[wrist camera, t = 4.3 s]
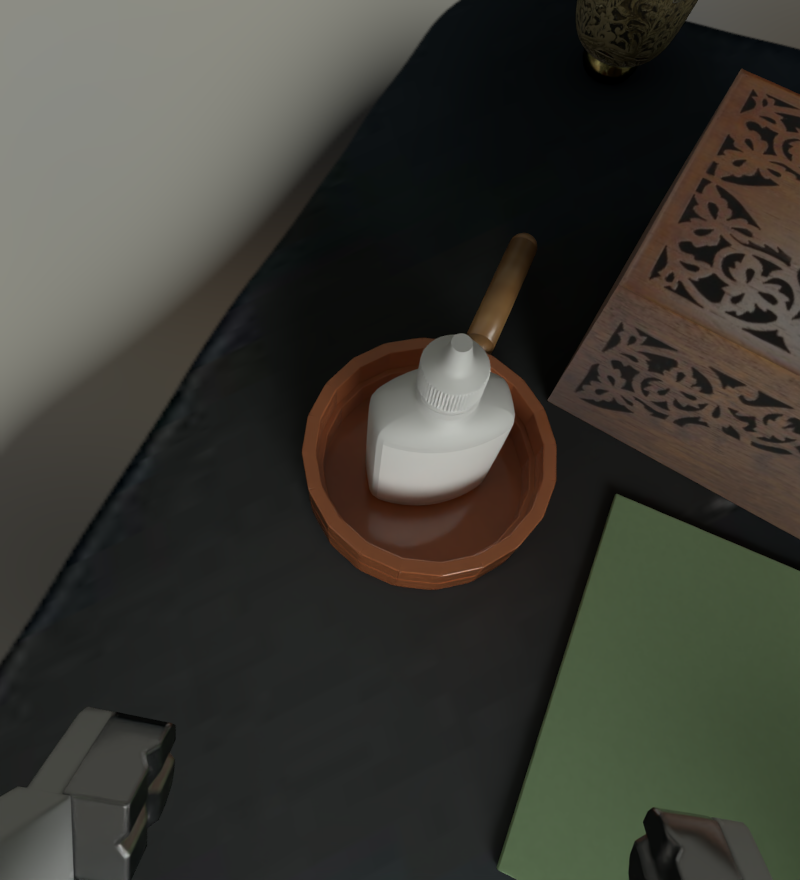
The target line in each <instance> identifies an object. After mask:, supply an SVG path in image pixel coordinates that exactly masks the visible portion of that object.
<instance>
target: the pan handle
mask: <svg viewBox="0 0 800 880" xmlns="http://www.w3.org/2000/svg"><path fill="white" fill-rule="evenodd" d="M536 252H537V242H536V240H535V238H534V237H533V236H532V235H530V234H528V233H519V234H517V235H515V236H514V237H513V238H512V239H511V240H510V242H509V244H508V246H507V249H506V251H505V253H504V255H503V257H502V259H501V261H500V264H499V266H498V268H497V270H496V272H495V274H494V276H493V279H492V281H491V283H490V285H489V287H488V289H487V291H486V294H485V296H484V298H483V300H482V302H481V304H480V306H479V309H478V311H477V313H476V315H475V317H474V319H473V321H472V324H471V326H470V328H469V330H468V332H467V334H466V335H468V336H469V337H470V338H471V339H472V340H473V341H475V342H476V343H478V344H479V345H480V346H481V347H482V348H483V349H484V351H486V352H485V353H487V354H491V353H492V351H493V350H494V347H495V345H496V343H497V341H498V338H499V336H500V334H501V332H502V329H503V327H504V325H505V323H506V320H507V318H508V316H509V313H510V311H511V309H512V307H513V304H514V302H515V300H516V298H517V295H518V293H519V291H520V289H521V286H522V284H523V282H524V279H525V277H526V275H527V273H528V270H529V268H530V266H531V264H532V261H533V259H534V257H535V255H536Z"/></svg>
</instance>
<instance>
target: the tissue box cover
mask: <svg viewBox="0 0 800 880" xmlns="http://www.w3.org/2000/svg"><path fill="white" fill-rule="evenodd" d="M547 401H549V402H551V403H552V404H554V405H556V406H558V407H560V408H561V409H563V410H565V411H567V412H569V413H571V414H572V415H574V416H576V417H578V418H580V419H581V420H583V421H585V422H587V423H589V424H591V425H592V426H594V427H596V428H598V429H600V430H602V431H603V432H605V433H607V434H609V435H611V436H612V437H614V438H616V439H618V440H620V441H622V442H623V443H625V444H627V445H629V446H631V447H633V448H634V449H636V450H638V451H640V452H642V453H643V454H645V455H647V456H649V457H651V458H653V459H654V460H656V461H658V462H660V463H662V464H663V465H665V466H667V467H669V468H671V469H673V470H674V471H676V472H678V473H680V474H682V475H684V476H685V477H687V478H689V479H691V480H693V481H694V482H696V483H698V484H700V485H702V486H704V487H705V488H707V489H709V490H711V491H713V492H715V493H716V494H718V495H720V496H722V497H724V498H725V499H727V500H729V501H731V502H733V503H735V504H736V505H738V506H740V507H742V508H744V509H745V510H747V511H749V512H751V513H753V514H755V515H756V516H758V517H760V518H762V519H764V520H766V521H767V522H769V523H771V524H773V525H775V526H776V527H778V528H780V529H782V530H784V531H786V532H787V533H789V534H791V535H793V536H795V537H797V538H798V539H800V94H798V93H795V92H793V91H791V90H789V89H786V88H784V87H782V86H779V85H777V84H775V83H773V82H770V81H768V80H766V79H764V78H761V77H759V76H757V75H755V74H752V73H750V72H748V71H746V70H743V69H741V70H740V72H739V73H738V75H737V77H736V78H735V80H734V82H733V83H732V85H731V87H730V88H729V90H728V92H727V93H726V95H725V97H724V98H723V100H722V102H721V103H720V105H719V107H718V108H717V110H716V112H715V113H714V115H713V117H712V118H711V120H710V122H709V123H708V125H707V127H706V128H705V130H704V132H703V133H702V135H701V137H700V138H699V140H698V142H697V143H696V145H695V147H694V148H693V150H692V152H691V153H690V155H689V157H688V158H687V160H686V162H685V163H684V165H683V167H682V168H681V170H680V172H679V173H678V175H677V177H676V178H675V180H674V182H673V183H672V185H671V187H670V188H669V190H668V192H667V193H666V195H665V197H664V198H663V200H662V202H661V203H660V205H659V207H658V208H657V210H656V212H655V213H654V215H653V217H652V218H651V220H650V222H649V224H648V226H647V227H646V229H645V231H644V233H643V234H642V236H641V238H640V240H639V241H638V243H637V245H636V246H635V248H634V250H633V252H632V253H631V255H630V257H629V259H628V260H627V262H626V264H625V266H624V267H623V269H622V271H621V273H620V274H619V276H618V278H617V280H616V281H615V283H614V285H613V287H612V288H611V290H610V292H609V294H608V295H607V297H606V299H605V301H604V302H603V304H602V306H601V308H600V309H599V311H598V313H597V315H596V316H595V318H594V320H593V322H592V323H591V325H590V327H589V329H588V330H587V332H586V334H585V336H584V337H583V339H582V341H581V343H580V344H579V346H578V348H577V350H576V351H575V353H574V355H573V357H572V358H571V360H570V362H569V364H568V365H567V367H566V369H565V371H564V372H563V374H562V376H561V378H560V379H559V381H558V383H557V385H556V386H555V388H554V390H553V392H552V393H551V395H550V397H549V398H548V400H547Z"/></svg>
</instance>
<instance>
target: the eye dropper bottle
mask: <svg viewBox="0 0 800 880" xmlns="http://www.w3.org/2000/svg"><path fill="white" fill-rule="evenodd" d="M485 352H486V351H484V349H483V348H482V347H481V346H480V345H479V344H478V343H476V342H475V341H473V340H472V339H471V338H470V337H469V336H468V335H466V334H463V333H460V334H456V335H447V336H441V337H440V338H438V339H435V340H434V341H432V342H431V343H429V345H427V347H426V348H425V349H424V351H423V353H422V355H421V358H420V363H419V368H418V369H416V370H413V371H410V372H407V373H405V374H403V375H400V376H398V377H396V378H394V379H392V380H390V381H389V382H387V383H385V384H384V385H382V386H381V387H379V388H378V389H377V390H376V391H375V392H374V393H373V394H372V396H371V399H370V404H369V413H368V427H367V444H366V471H367V478H368V484H369V489H370V491H371V493H372V495H373V496H375V497H376V498H378V499H380V500H383V501H386V502H390V503H396V504H402V505H430V504H437V503H441V502H445V501H449V500H451V499H454V498H457V497H459V496H462V495H464V494H466V493H468V492H469V491H471V490H473V489H475V488H476V487H477V486H479V485H480V484H481V483H482V481H483V480H484V479H485V477H486V475H487V473H488V471H489V470H490V468H491V466H492V464H493V462H494V460H495V459H496V457H497V455H498V453H499V451H500V449H501V448H502V446H503V444H504V442H505V440H506V438H507V436H508V434H509V432H510V430H511V428H512V426H513V424H514V418H515V411H514V405H513V400H512V396H511V392H510V389H509V386H508V384H507V382H506V381H505V379H503V378H502V377H500V376H499V375H497V374H495V373H492V372H490V371H491V370H490V368H491V367H490V363H489V362H490V360H489V357H488V356H487V354H486V353H485Z"/></svg>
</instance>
